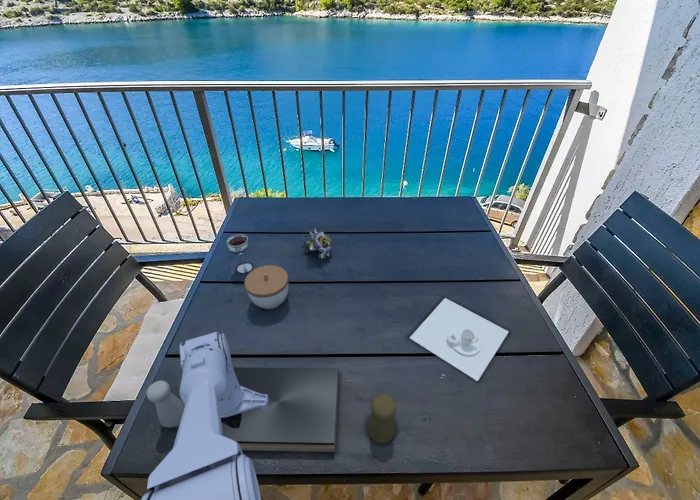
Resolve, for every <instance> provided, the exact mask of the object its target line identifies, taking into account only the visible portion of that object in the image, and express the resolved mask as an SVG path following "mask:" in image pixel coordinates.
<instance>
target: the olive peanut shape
mask: <svg viewBox="0 0 700 500" xmlns="http://www.w3.org/2000/svg"><path fill="white" fill-rule="evenodd" d="M370 412H371V415H370V418H369V421H368V423H367V424H368V425H367V432H368V436H369V437H370V438H371V439H372V440H373V441H374V442H376V443H378V444H387V443H389V442H390V441H391V440H392V439H393V438H394V436H395V432H396V426H395V419H394V417H395V415H396V413H397V405H396V401H394V399H393V397H391V396H389V395H387V394H379V395H376V396H375V397H374V398H373V400H372V401H371V404H370Z"/></svg>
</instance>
